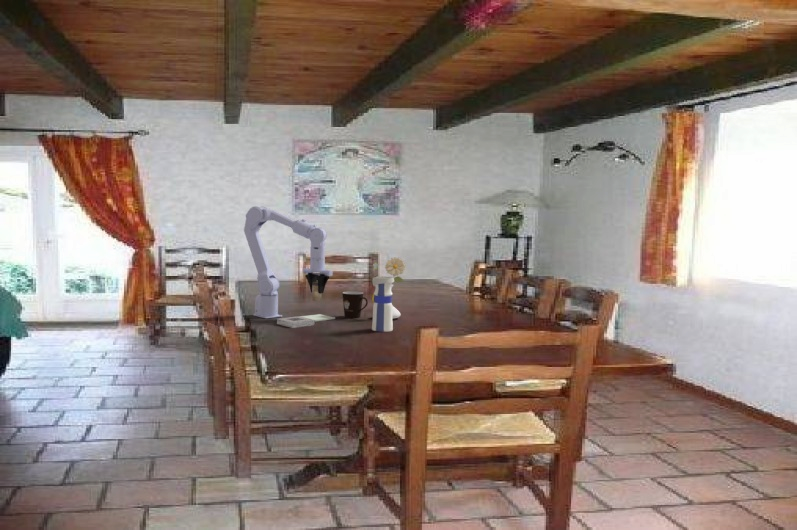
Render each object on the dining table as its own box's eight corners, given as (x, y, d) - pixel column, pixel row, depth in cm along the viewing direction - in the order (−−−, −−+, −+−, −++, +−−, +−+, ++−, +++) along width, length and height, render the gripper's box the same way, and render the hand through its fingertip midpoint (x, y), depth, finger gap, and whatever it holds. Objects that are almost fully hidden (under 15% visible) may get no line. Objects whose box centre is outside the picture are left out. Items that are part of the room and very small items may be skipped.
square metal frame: (276, 324, 241) (276, 318, 240) (298, 321, 248) (298, 316, 248) (292, 327, 234) (292, 322, 233) (314, 325, 241) (314, 319, 240)
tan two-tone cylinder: (310, 300, 253) (310, 282, 253) (316, 299, 256) (316, 281, 256) (317, 301, 252) (317, 283, 251) (323, 300, 255) (323, 282, 254)
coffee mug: (338, 315, 263) (339, 291, 262) (358, 315, 267) (358, 291, 266) (348, 320, 253) (349, 295, 252) (369, 319, 256) (369, 294, 255)
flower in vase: (368, 319, 256) (370, 257, 254) (377, 315, 267) (379, 255, 265) (399, 322, 252) (401, 258, 250) (407, 317, 263) (409, 257, 261)
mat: (299, 318, 255) (299, 316, 255) (319, 315, 263) (319, 314, 262) (315, 321, 248) (315, 319, 248) (335, 318, 255) (335, 317, 255)
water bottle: (367, 330, 232) (369, 262, 230) (374, 326, 240) (375, 260, 238) (389, 332, 230) (391, 263, 228) (395, 328, 238) (397, 261, 236)
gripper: (297, 257, 254) (296, 291, 255) (324, 260, 245) (323, 295, 246) (309, 257, 260) (309, 290, 261) (336, 259, 251) (335, 293, 252)
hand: (317, 292), depth 254 cm, fingers closed on tan two-tone cylinder, 4 cm apart
